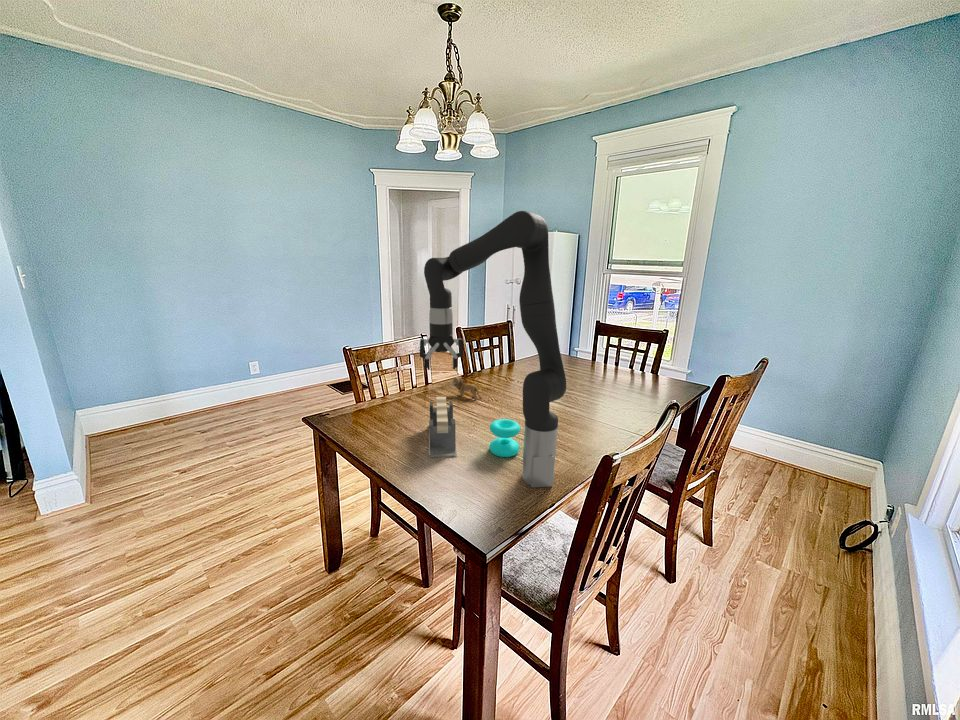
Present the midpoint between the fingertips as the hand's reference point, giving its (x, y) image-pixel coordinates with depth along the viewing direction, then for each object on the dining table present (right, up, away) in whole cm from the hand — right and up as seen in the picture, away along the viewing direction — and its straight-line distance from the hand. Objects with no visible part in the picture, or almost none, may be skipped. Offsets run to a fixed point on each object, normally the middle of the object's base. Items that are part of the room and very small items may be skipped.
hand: (441, 369), depth 128 cm
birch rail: (0, -17, +5) cm, 18 cm away
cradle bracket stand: (-1, -25, +7) cm, 26 cm away
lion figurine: (+7, -14, +48) cm, 50 cm away
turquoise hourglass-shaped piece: (+21, -28, 0) cm, 35 cm away
